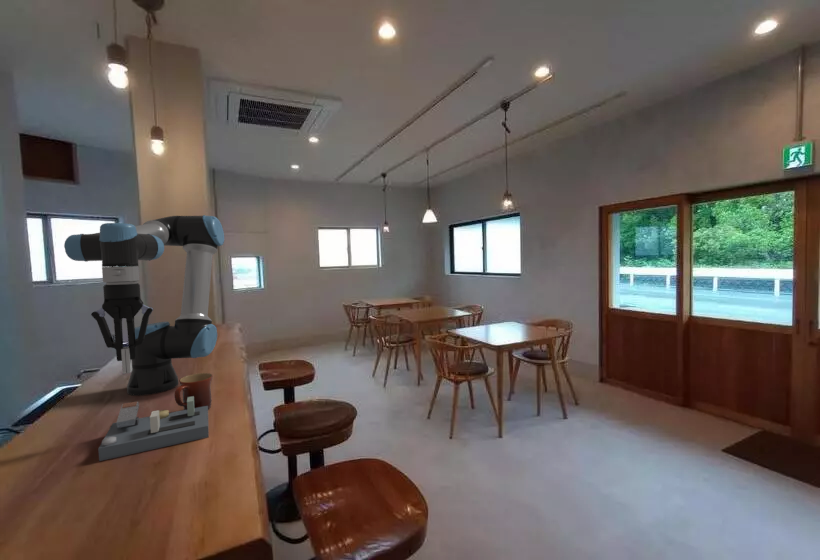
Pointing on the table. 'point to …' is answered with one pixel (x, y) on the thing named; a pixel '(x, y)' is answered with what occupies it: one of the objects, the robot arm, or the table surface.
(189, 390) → the mug
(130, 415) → the block
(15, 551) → the table surface
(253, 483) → the table surface
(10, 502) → the table surface
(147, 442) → the console
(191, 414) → the grey block
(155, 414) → the pale grey cuboid
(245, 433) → the table surface
